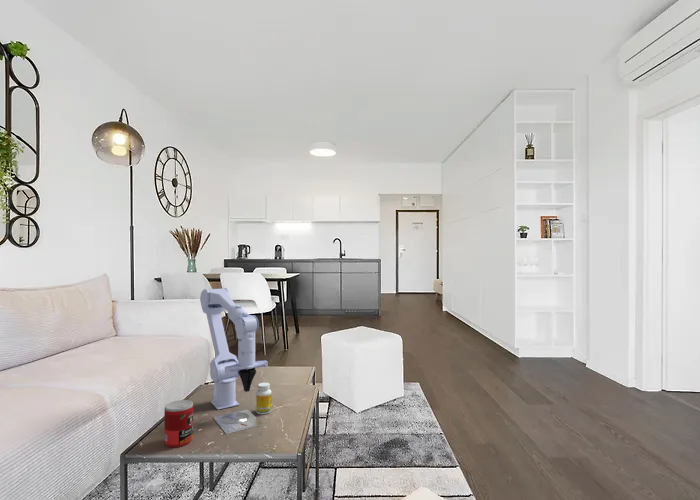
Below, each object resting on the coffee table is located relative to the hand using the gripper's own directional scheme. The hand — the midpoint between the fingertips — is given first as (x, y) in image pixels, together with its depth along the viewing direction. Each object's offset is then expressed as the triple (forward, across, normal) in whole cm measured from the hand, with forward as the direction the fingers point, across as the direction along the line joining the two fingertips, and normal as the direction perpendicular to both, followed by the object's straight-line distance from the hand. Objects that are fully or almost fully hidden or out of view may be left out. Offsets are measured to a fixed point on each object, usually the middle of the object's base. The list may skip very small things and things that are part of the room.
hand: (246, 390), depth 133 cm
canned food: (+9, -23, -7) cm, 26 cm away
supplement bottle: (+9, +6, 0) cm, 11 cm away
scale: (+9, -4, -3) cm, 10 cm away
